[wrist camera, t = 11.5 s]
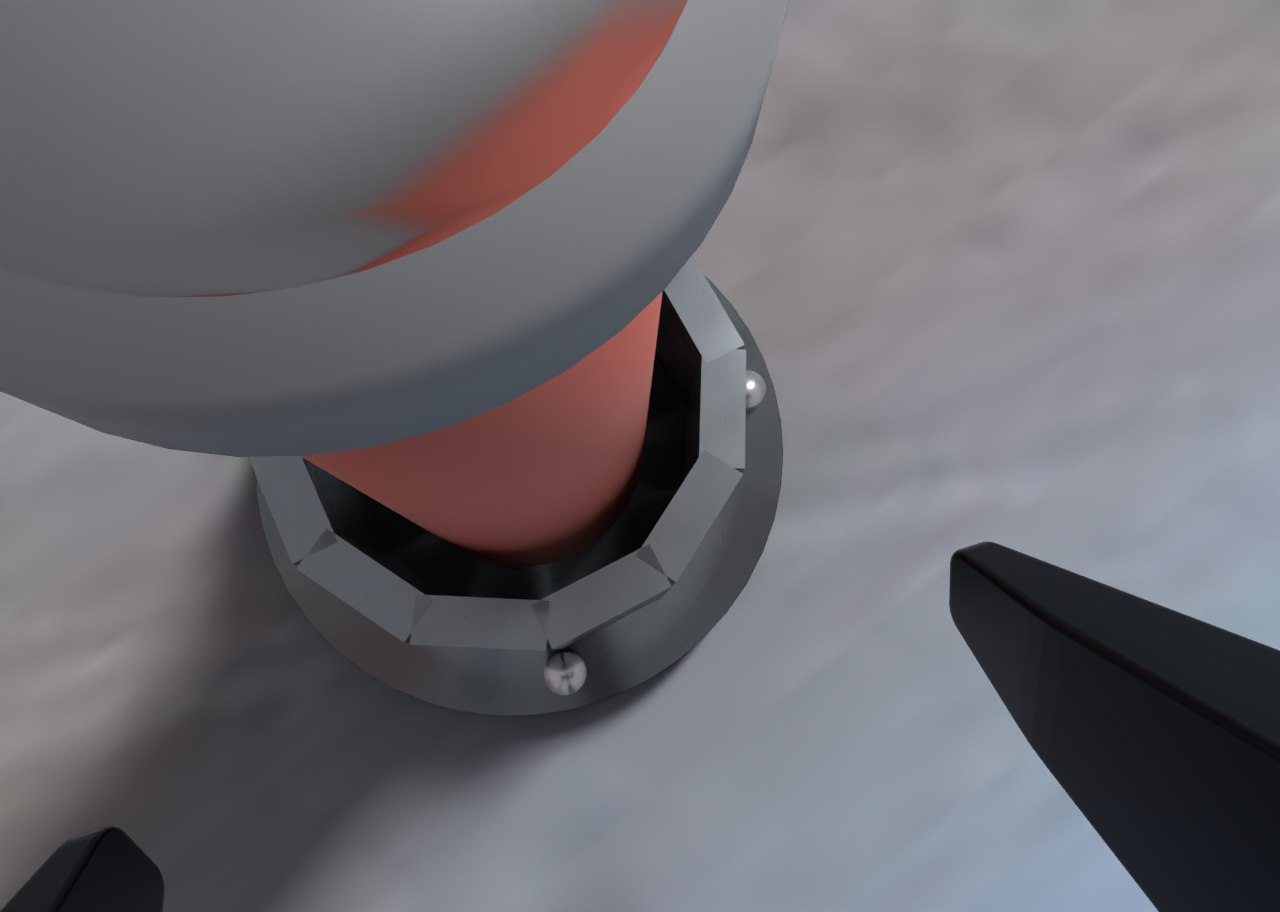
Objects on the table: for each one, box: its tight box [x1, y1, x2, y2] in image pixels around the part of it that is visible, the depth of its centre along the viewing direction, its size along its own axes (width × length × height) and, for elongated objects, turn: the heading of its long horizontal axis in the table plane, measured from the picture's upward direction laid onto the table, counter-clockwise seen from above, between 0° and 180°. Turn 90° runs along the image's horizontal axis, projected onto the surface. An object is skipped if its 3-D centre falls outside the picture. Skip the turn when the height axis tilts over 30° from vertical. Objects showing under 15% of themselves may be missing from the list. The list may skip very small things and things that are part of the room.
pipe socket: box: [248, 255, 783, 716], centre depth 15 cm, size 11×11×4 cm
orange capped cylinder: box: [0, 0, 789, 566], centre depth 10 cm, size 6×6×12 cm
